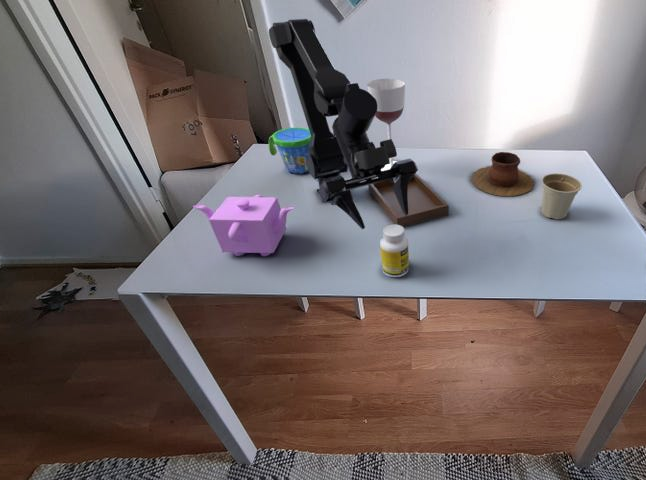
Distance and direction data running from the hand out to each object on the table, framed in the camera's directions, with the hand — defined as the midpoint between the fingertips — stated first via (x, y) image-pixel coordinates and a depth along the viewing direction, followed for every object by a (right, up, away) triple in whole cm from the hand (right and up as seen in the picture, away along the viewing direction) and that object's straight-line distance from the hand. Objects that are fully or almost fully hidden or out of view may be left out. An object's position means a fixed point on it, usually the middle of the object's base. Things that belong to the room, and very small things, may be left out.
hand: (385, 221), depth 75 cm
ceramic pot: (+27, +16, +36) cm, 48 cm away
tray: (+1, +8, +25) cm, 26 cm away
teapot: (-29, -4, +9) cm, 31 cm away
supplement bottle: (+1, -9, +5) cm, 11 cm away
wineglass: (-5, +21, +40) cm, 45 cm away
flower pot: (+39, +5, +23) cm, 45 cm away
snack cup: (-30, +20, +37) cm, 52 cm away
